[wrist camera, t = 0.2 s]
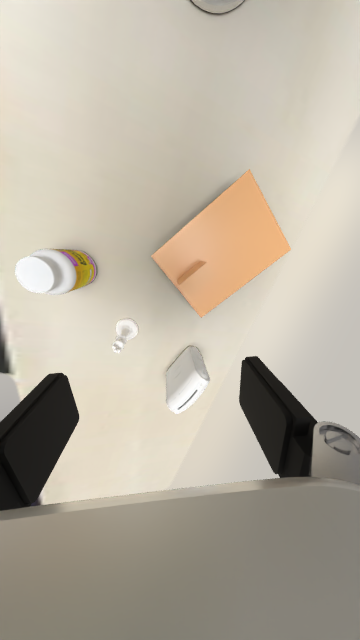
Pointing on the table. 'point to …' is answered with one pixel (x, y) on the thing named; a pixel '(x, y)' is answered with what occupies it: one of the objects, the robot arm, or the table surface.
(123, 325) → the chess piece
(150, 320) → the table surface
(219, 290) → the lid
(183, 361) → the photo printer
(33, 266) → the supplement bottle
